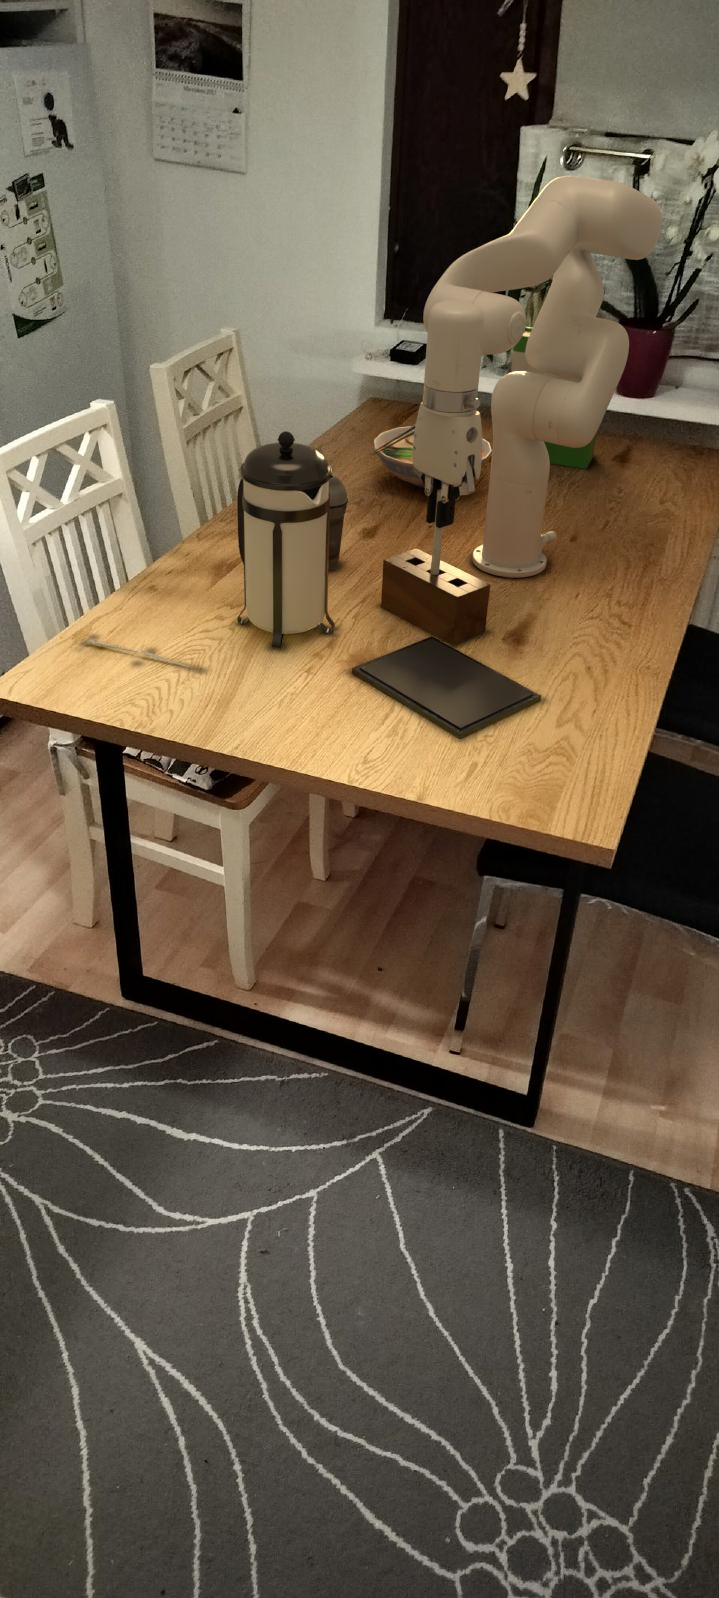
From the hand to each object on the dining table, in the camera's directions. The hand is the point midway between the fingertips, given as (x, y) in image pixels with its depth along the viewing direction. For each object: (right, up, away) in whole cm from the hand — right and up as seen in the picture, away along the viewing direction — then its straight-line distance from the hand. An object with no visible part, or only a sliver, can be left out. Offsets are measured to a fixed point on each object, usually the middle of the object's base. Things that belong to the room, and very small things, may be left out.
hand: (439, 522), depth 176 cm
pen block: (0, -13, +9) cm, 16 cm away
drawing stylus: (0, -7, +5) cm, 9 cm away
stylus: (-43, -20, -4) cm, 48 cm away
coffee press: (-24, -14, +6) cm, 29 cm away
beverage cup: (-18, -2, +24) cm, 30 cm away
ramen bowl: (+2, +21, +57) cm, 60 cm away
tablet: (0, -25, -7) cm, 26 cm away
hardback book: (+27, +30, +71) cm, 81 cm away
